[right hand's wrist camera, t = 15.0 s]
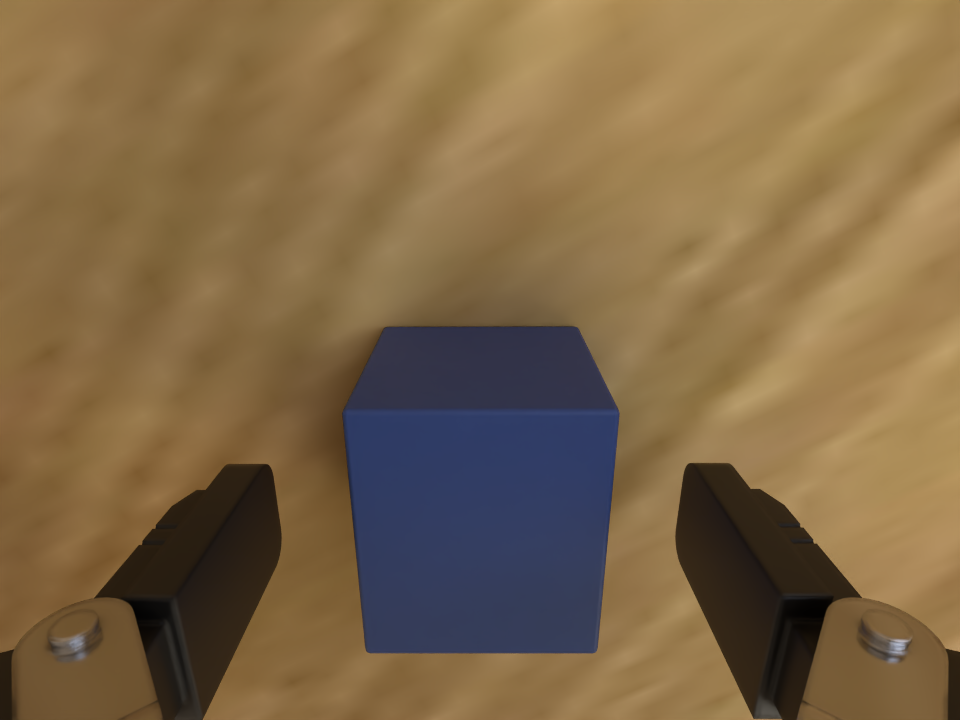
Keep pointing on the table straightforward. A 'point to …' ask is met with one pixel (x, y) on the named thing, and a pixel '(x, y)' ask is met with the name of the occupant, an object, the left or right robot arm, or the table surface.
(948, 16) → the table surface
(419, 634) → the brick
